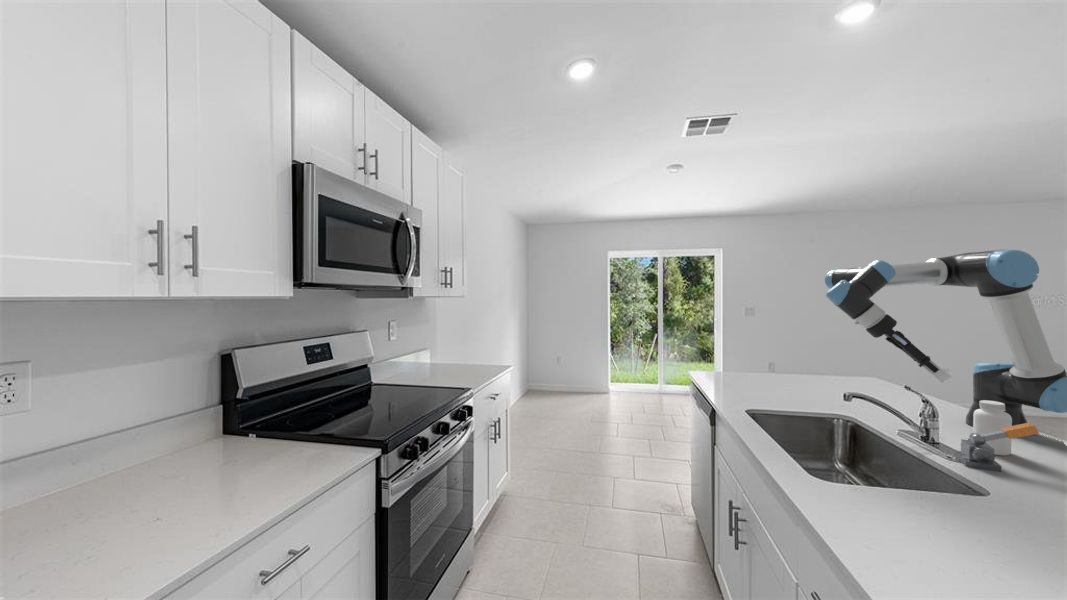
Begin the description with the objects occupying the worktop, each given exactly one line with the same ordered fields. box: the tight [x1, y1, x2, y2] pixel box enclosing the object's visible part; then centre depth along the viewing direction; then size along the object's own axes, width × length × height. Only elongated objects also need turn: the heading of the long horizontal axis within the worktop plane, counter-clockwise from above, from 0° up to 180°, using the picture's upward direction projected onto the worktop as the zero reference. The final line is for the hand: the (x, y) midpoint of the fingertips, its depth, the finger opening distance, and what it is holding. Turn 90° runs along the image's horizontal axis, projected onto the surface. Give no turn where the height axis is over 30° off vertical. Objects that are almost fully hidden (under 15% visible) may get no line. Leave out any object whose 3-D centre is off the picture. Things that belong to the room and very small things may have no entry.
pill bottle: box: [972, 400, 1013, 456], centre depth 128 cm, size 8×8×15 cm
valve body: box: [954, 438, 1002, 472], centre depth 119 cm, size 7×9×6 cm
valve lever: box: [968, 422, 1040, 445], centre depth 117 cm, size 2×3×13 cm
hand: (945, 379), depth 125 cm, fingers closed
